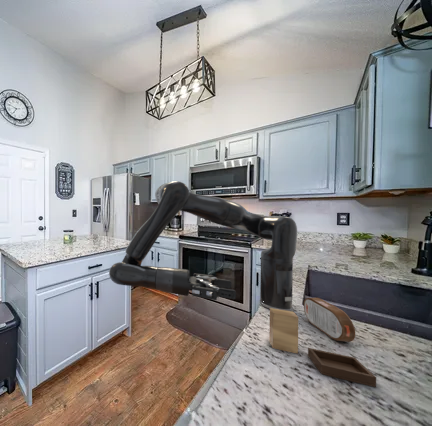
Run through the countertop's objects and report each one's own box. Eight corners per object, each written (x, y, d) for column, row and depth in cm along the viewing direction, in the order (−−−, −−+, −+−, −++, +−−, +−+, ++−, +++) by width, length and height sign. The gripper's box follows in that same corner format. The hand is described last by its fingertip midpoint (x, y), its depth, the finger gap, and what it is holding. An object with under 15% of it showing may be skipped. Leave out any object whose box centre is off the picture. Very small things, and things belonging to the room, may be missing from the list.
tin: (356, 349, 52) (357, 316, 52) (341, 347, 53) (342, 314, 53) (312, 319, 67) (312, 293, 67) (301, 318, 68) (301, 292, 68)
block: (269, 341, 55) (269, 307, 55) (292, 346, 53) (293, 311, 53) (272, 348, 52) (273, 312, 52) (297, 353, 50) (298, 317, 50)
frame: (307, 355, 50) (307, 347, 50) (354, 366, 47) (355, 357, 47) (321, 374, 44) (321, 364, 44) (376, 387, 41) (376, 377, 41)
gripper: (169, 274, 57) (237, 283, 51) (175, 263, 70) (230, 269, 64) (169, 301, 57) (237, 314, 51) (175, 285, 70) (229, 293, 64)
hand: (233, 289), depth 57 cm, fingers open, 8 cm apart
